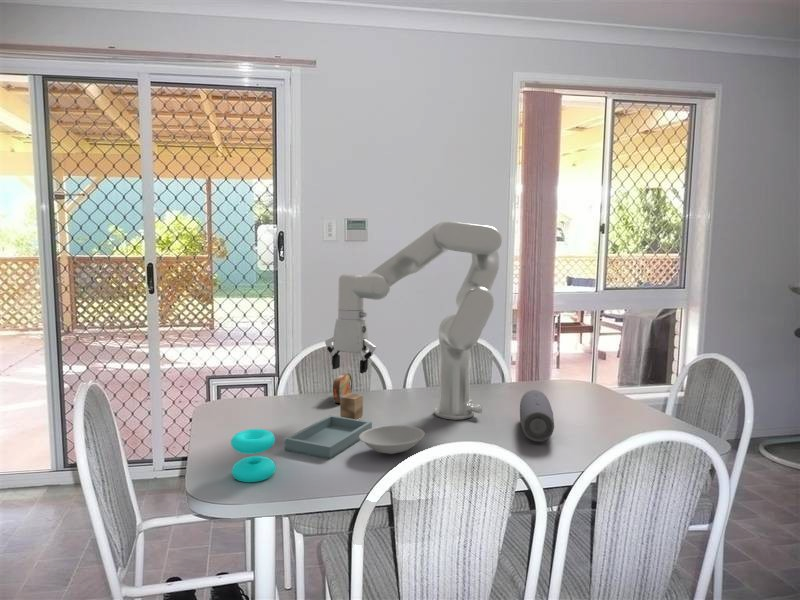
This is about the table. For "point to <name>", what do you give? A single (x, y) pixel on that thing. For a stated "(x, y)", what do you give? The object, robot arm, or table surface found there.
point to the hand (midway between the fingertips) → (349, 370)
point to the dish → (391, 438)
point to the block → (351, 406)
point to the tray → (327, 437)
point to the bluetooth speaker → (536, 416)
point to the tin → (342, 386)
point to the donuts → (254, 465)
